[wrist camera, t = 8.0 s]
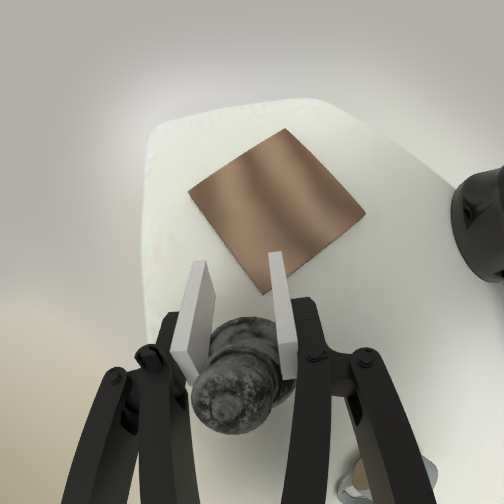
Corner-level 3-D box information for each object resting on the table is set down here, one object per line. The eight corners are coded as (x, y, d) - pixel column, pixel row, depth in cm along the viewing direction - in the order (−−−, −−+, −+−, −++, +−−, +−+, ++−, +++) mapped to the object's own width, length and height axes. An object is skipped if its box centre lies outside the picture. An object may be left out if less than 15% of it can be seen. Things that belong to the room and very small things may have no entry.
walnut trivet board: (285, 135, 33) (285, 128, 31) (362, 217, 29) (366, 213, 28) (191, 196, 32) (187, 191, 30) (263, 295, 28) (262, 294, 27)
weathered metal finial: (207, 323, 19) (114, 329, 8) (289, 309, 19) (307, 299, 7) (221, 400, 18) (155, 488, 6) (303, 388, 18) (334, 479, 6)
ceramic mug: (386, 425, 24) (413, 452, 16) (422, 452, 22) (449, 477, 15) (319, 485, 23) (328, 522, 15) (360, 507, 21) (374, 540, 13)
